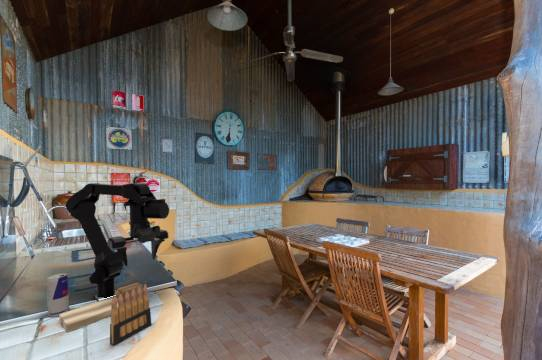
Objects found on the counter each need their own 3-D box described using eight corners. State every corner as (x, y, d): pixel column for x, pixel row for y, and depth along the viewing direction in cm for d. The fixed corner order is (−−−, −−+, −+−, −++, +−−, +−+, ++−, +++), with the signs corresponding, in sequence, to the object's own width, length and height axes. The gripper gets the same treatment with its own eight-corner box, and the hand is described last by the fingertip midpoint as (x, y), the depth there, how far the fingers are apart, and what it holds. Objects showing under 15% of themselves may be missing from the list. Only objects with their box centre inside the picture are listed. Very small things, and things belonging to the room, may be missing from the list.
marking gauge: (108, 305, 88) (107, 282, 88) (127, 299, 93) (126, 276, 93) (123, 317, 80) (122, 291, 80) (143, 309, 84) (142, 285, 84)
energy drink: (70, 312, 84) (69, 275, 84) (49, 319, 81) (47, 280, 81) (67, 307, 88) (66, 271, 88) (46, 313, 84) (45, 276, 84)
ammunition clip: (113, 346, 66) (112, 299, 66) (109, 344, 67) (107, 297, 67) (151, 325, 75) (150, 283, 75) (147, 323, 76) (146, 282, 76)
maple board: (59, 320, 79) (59, 313, 79) (135, 294, 96) (134, 289, 96) (67, 332, 73) (67, 325, 73) (147, 302, 90) (147, 296, 89)
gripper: (116, 224, 80) (118, 275, 80) (174, 217, 94) (176, 260, 94) (106, 221, 88) (107, 267, 88) (161, 214, 101) (162, 254, 101)
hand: (140, 262), depth 93 cm, fingers open, 9 cm apart
